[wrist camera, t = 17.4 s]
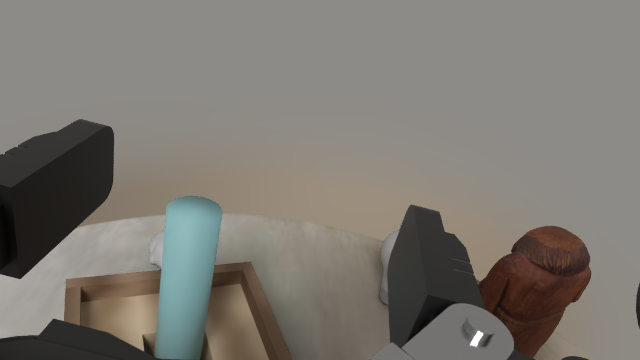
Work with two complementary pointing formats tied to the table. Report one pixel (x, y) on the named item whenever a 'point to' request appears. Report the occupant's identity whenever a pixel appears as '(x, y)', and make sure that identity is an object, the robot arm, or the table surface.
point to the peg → (186, 276)
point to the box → (142, 310)
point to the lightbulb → (386, 264)
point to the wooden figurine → (536, 285)
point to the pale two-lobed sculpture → (156, 249)
